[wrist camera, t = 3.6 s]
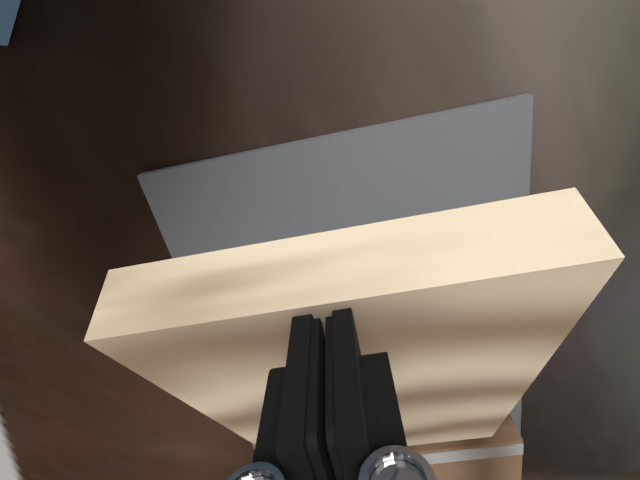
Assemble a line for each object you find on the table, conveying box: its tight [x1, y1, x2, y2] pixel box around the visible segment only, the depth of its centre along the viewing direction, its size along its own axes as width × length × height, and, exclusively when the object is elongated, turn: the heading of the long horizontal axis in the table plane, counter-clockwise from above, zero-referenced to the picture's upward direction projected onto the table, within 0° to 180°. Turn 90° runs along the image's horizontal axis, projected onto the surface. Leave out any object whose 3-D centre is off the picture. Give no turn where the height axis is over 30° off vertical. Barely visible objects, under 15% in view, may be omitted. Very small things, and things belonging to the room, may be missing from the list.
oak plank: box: [84, 188, 625, 446], centre depth 18 cm, size 20×14×2 cm
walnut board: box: [407, 413, 524, 480], centre depth 28 cm, size 18×8×3 cm, turn 102°
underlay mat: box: [137, 93, 534, 451], centre depth 25 cm, size 20×30×1 cm, turn 12°
